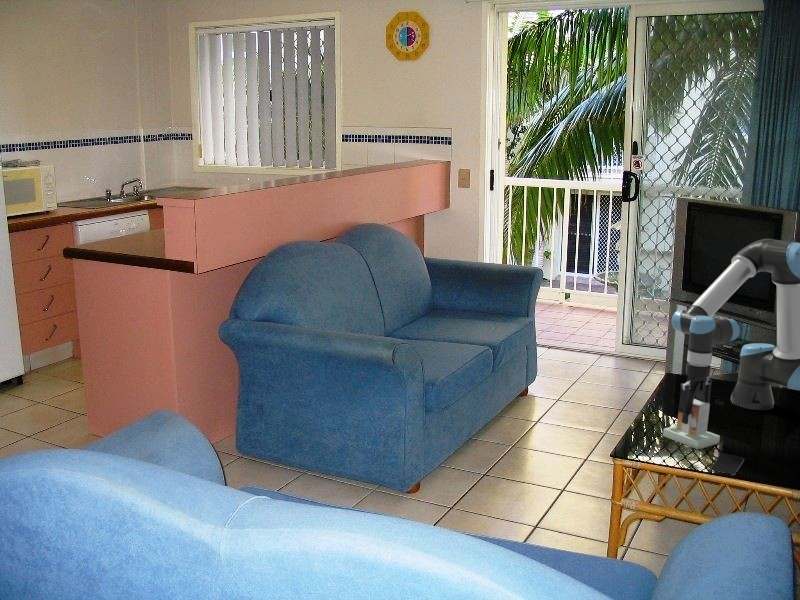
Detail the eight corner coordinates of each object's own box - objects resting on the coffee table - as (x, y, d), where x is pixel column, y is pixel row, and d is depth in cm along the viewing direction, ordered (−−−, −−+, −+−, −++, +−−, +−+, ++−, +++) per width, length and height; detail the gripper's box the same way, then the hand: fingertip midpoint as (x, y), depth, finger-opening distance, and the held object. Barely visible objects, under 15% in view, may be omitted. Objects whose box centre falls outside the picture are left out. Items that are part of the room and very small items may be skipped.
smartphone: (709, 469, 263) (720, 452, 275) (709, 472, 263) (720, 455, 276) (734, 475, 259) (745, 457, 272) (734, 478, 260) (744, 461, 272)
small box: (676, 429, 289) (679, 399, 287) (686, 426, 292) (689, 396, 290) (696, 436, 283) (699, 406, 281) (707, 433, 286) (710, 403, 284)
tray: (684, 429, 297) (684, 423, 296) (719, 443, 286) (719, 435, 285) (662, 435, 291) (663, 428, 290) (697, 449, 279) (698, 442, 279)
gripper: (706, 356, 291) (699, 422, 296) (670, 364, 280) (664, 432, 285) (726, 362, 285) (718, 429, 290) (689, 370, 274) (682, 439, 279)
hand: (691, 430), depth 287 cm, fingers closed on small box, 6 cm apart
